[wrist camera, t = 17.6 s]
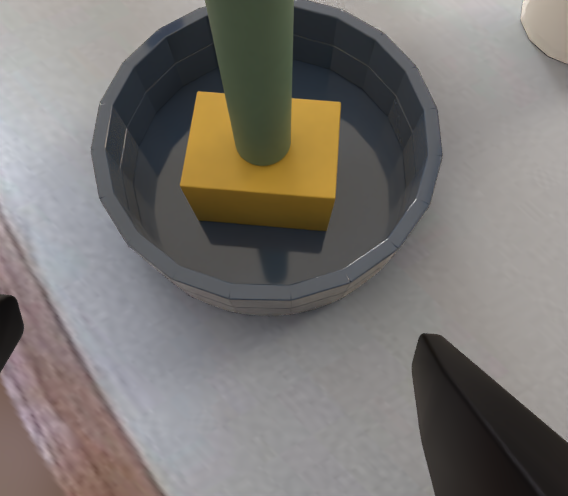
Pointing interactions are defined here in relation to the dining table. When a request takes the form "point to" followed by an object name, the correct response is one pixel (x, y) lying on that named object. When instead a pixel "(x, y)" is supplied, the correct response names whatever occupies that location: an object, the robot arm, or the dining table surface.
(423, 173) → the bowl
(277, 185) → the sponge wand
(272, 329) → the dining table surface
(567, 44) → the foam cup
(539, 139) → the dining table surface
